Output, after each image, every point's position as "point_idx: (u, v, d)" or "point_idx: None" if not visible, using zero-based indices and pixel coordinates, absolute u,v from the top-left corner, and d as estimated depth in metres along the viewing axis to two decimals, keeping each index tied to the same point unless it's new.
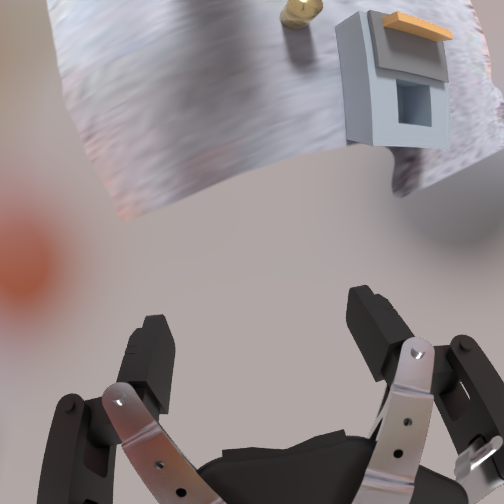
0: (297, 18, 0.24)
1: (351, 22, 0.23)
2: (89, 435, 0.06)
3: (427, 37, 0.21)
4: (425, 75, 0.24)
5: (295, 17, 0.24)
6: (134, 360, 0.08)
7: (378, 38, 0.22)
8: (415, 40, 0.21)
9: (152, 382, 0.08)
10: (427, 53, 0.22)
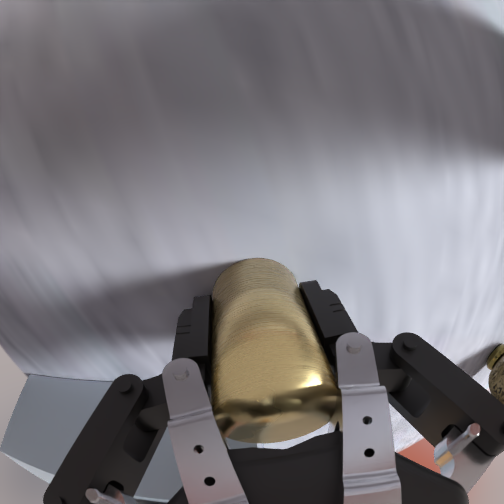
0: (213, 358, 0.09)
1: None
2: (138, 419, 0.07)
3: None
4: None
5: (215, 355, 0.08)
6: (190, 337, 0.09)
7: None
8: None
9: (210, 358, 0.09)
10: None
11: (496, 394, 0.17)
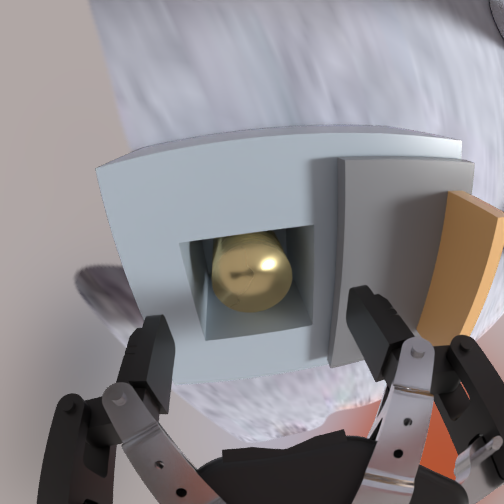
0: (213, 252, 0.15)
1: (422, 132, 0.13)
2: (89, 435, 0.06)
3: (429, 308, 0.13)
4: (339, 311, 0.13)
5: (214, 249, 0.15)
6: (134, 360, 0.08)
7: (422, 168, 0.10)
8: (420, 279, 0.13)
9: (152, 382, 0.08)
10: None
11: None
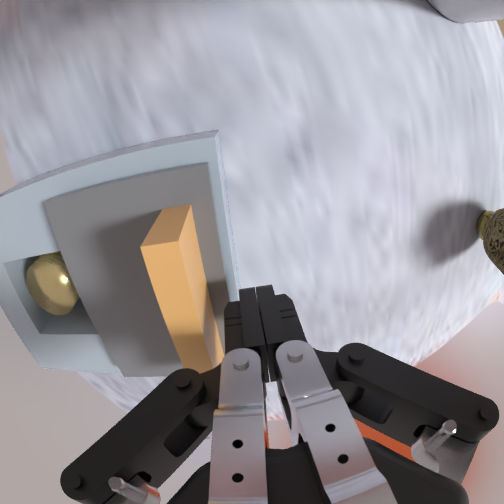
0: None
1: (197, 136, 0.13)
2: (189, 415, 0.07)
3: None
4: (96, 325, 0.13)
5: None
6: (244, 328, 0.09)
7: (115, 192, 0.10)
8: None
9: None
10: (153, 334, 0.14)
11: (495, 250, 0.19)
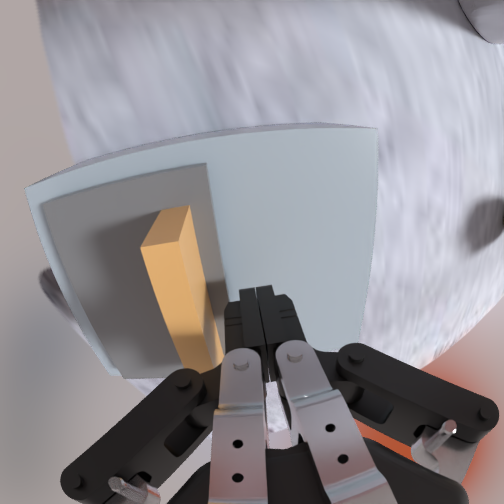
0: None
1: (338, 125, 0.13)
2: (189, 415, 0.07)
3: None
4: (95, 328, 0.13)
5: None
6: (244, 328, 0.09)
7: (113, 193, 0.10)
8: None
9: None
10: (152, 336, 0.14)
11: None
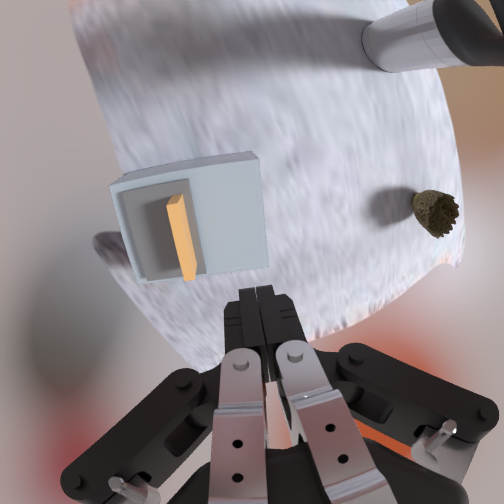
0: None
1: (248, 157, 0.32)
2: (188, 415, 0.07)
3: None
4: (138, 249, 0.32)
5: None
6: (244, 328, 0.09)
7: (154, 189, 0.29)
8: (173, 236, 0.32)
9: None
10: (164, 252, 0.33)
11: (419, 215, 0.38)
